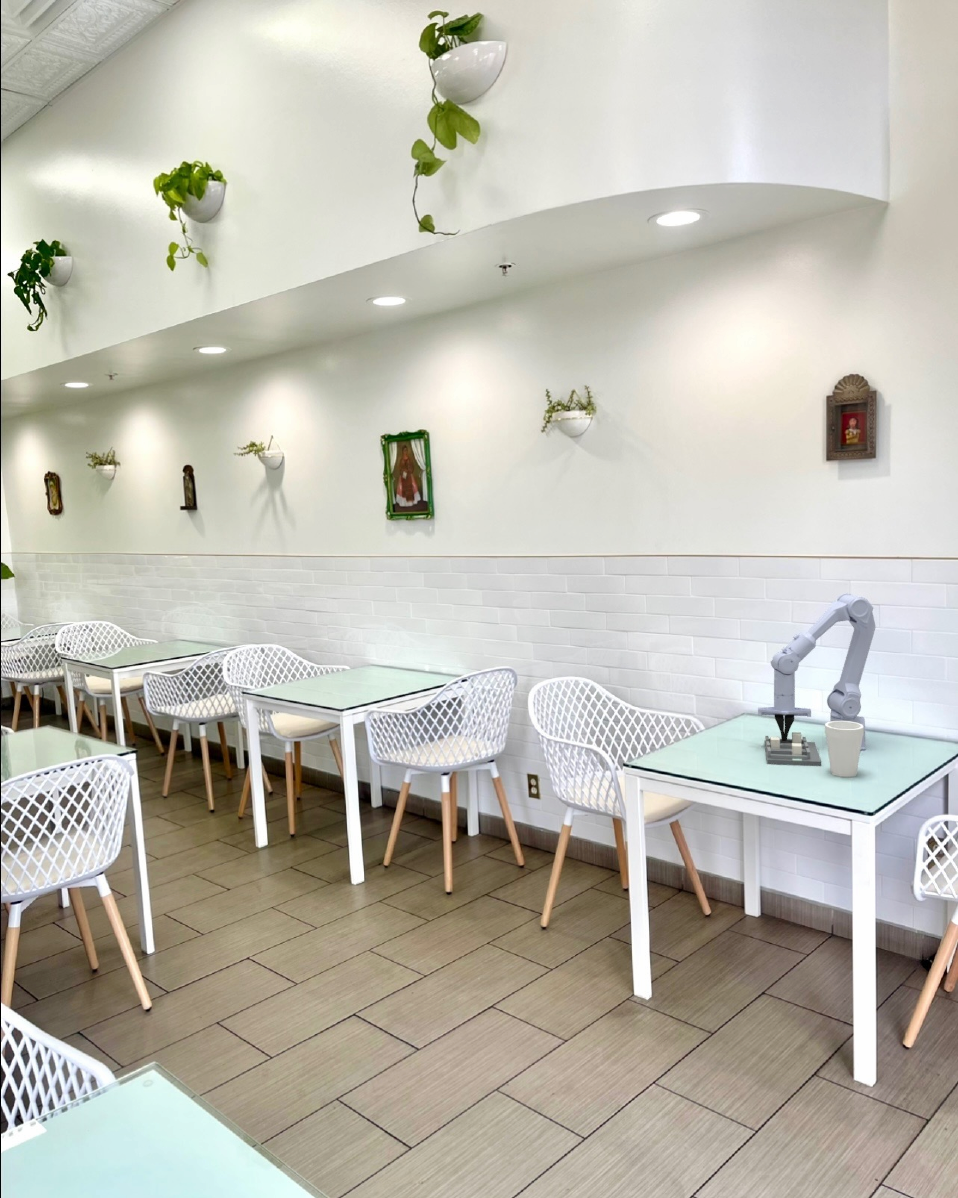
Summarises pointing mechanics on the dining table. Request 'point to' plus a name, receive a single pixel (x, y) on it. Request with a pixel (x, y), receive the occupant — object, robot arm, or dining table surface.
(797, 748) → the tab
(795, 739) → the tab
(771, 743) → the tab
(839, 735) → the foam cup
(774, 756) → the switch bank
